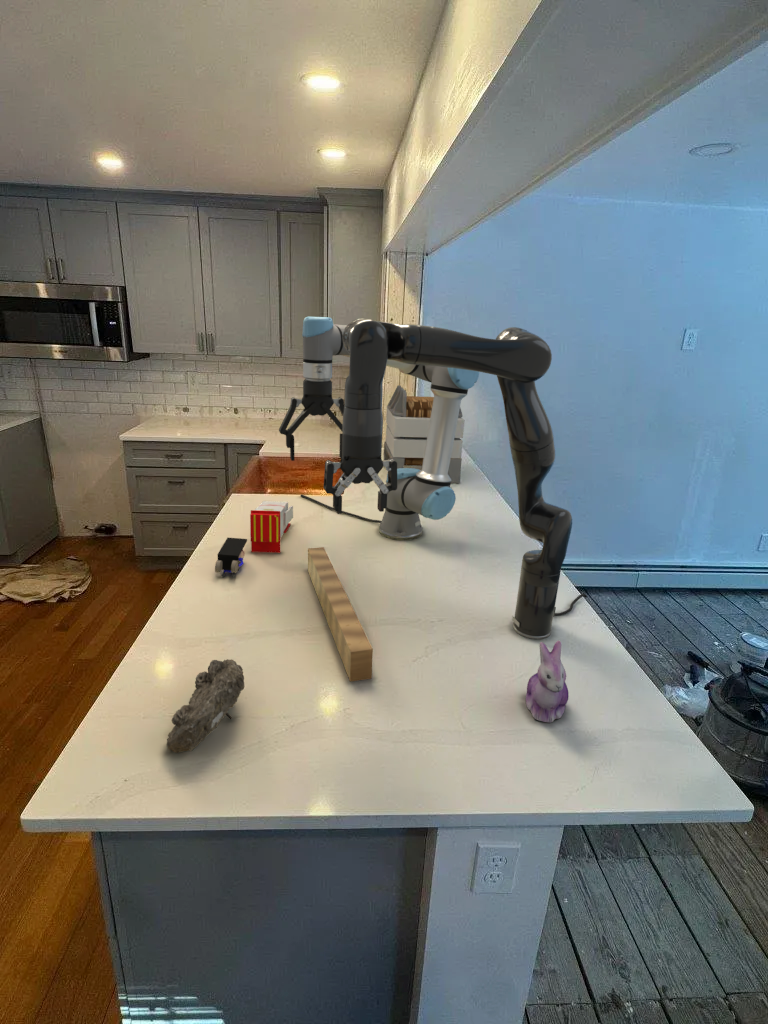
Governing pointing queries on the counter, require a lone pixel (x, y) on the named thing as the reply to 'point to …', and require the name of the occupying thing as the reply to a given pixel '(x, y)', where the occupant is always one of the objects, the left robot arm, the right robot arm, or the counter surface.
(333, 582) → the beam
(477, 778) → the counter surface
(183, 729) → the fossil
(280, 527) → the toy
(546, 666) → the figurine
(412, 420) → the transformer
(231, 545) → the figurine character
